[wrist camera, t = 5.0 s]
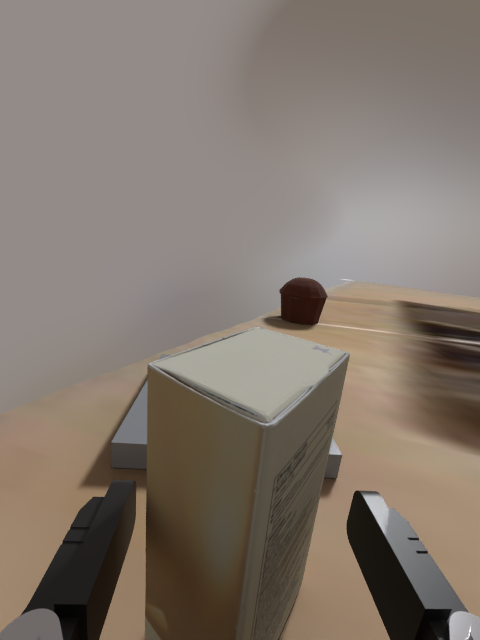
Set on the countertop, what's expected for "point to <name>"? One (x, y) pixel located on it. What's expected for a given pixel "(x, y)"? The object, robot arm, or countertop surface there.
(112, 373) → the countertop surface
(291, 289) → the muffin
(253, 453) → the skincare box
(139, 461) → the plate
